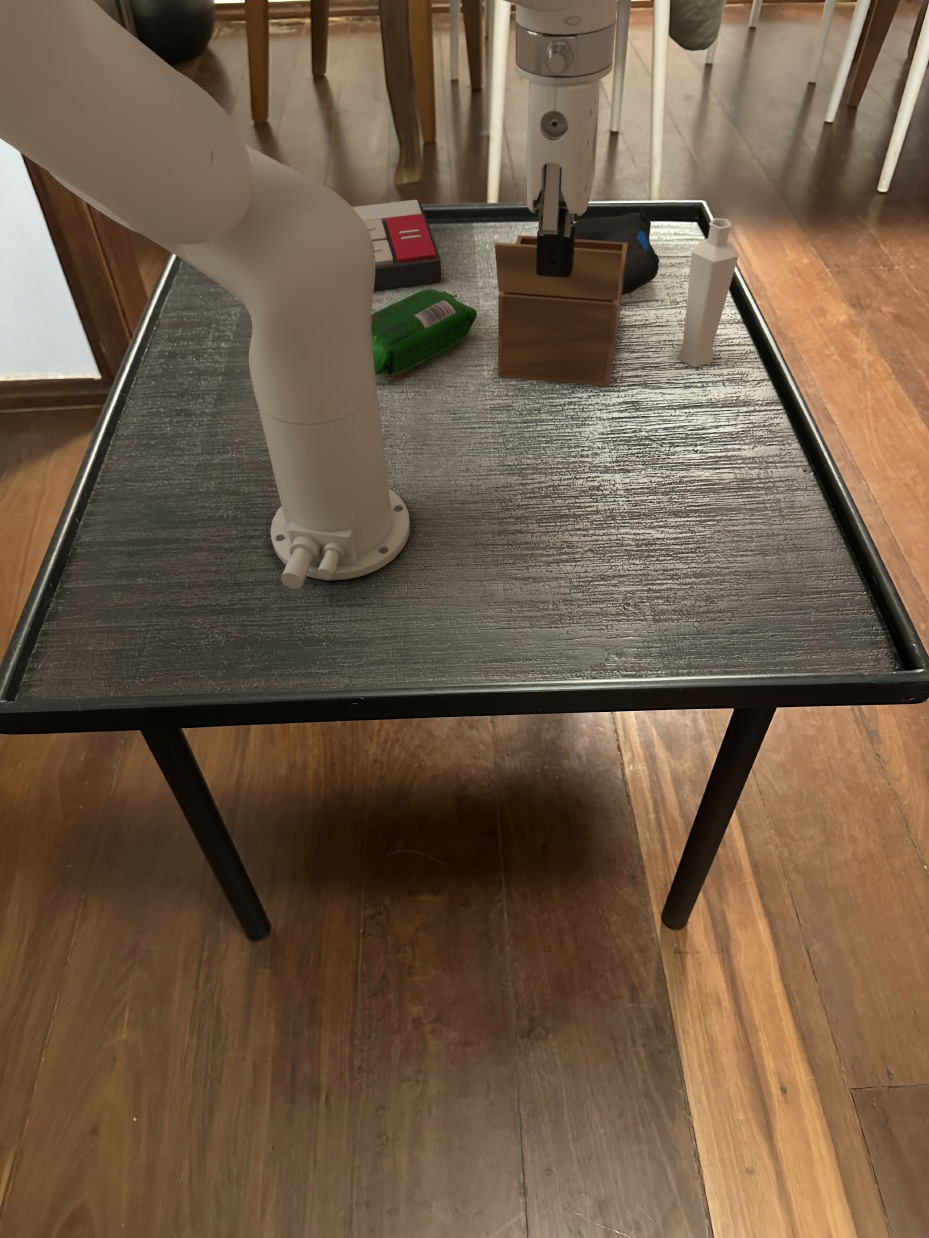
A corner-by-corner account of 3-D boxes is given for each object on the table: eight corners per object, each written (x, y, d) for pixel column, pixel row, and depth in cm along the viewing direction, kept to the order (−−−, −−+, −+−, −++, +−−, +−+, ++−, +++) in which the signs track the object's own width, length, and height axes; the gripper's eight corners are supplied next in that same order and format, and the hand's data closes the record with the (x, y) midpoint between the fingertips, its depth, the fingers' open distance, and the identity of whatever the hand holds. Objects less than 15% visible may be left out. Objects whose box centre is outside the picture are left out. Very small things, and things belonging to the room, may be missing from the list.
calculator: (350, 265, 109) (335, 203, 118) (354, 298, 112) (340, 235, 121) (441, 254, 110) (419, 193, 119) (442, 286, 113) (421, 225, 123)
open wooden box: (609, 386, 98) (617, 305, 91) (498, 376, 99) (498, 296, 92) (619, 321, 106) (628, 242, 99) (516, 313, 108) (518, 235, 101)
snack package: (489, 337, 105) (488, 295, 101) (380, 392, 98) (376, 349, 94) (448, 314, 108) (446, 272, 104) (341, 365, 102) (335, 323, 98)
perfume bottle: (672, 366, 100) (694, 232, 88) (676, 344, 103) (698, 211, 91) (715, 371, 99) (743, 236, 88) (717, 349, 102) (745, 215, 90)
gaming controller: (591, 329, 109) (669, 288, 105) (568, 291, 106) (648, 247, 102) (582, 260, 120) (653, 220, 116) (562, 223, 117) (634, 181, 113)
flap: (618, 298, 90) (617, 300, 90) (498, 289, 92) (498, 291, 92) (622, 250, 84) (622, 253, 84) (495, 242, 86) (494, 244, 86)
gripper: (604, 85, 65) (586, 319, 78) (622, 16, 74) (603, 236, 88) (499, 81, 66) (500, 313, 80) (530, 13, 75) (526, 231, 89)
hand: (554, 272), depth 84 cm, fingers closed
